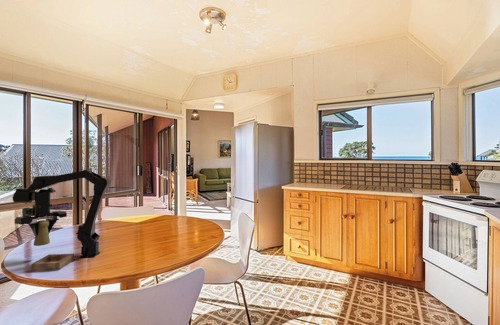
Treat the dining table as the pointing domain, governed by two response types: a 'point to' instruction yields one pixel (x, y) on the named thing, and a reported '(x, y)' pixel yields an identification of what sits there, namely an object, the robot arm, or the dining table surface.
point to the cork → (42, 234)
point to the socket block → (52, 262)
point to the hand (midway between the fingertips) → (42, 235)
